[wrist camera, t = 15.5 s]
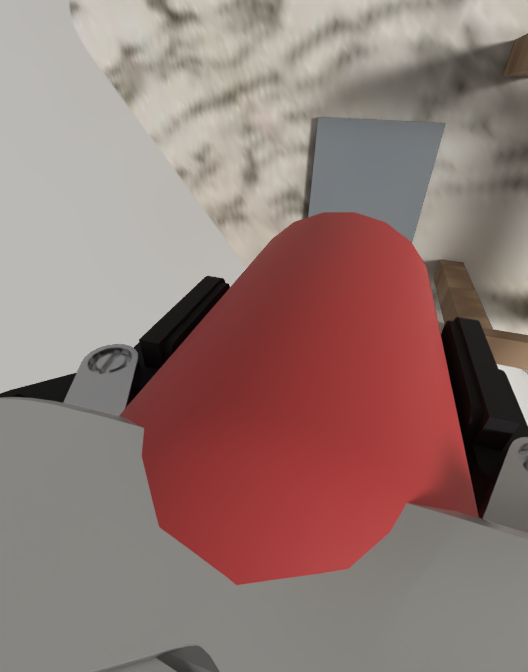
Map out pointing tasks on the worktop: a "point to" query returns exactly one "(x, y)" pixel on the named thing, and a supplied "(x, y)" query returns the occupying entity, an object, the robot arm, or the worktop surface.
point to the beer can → (304, 410)
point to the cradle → (457, 284)
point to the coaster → (374, 168)
